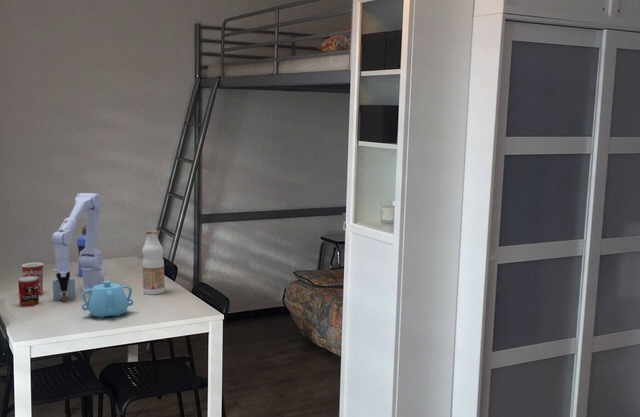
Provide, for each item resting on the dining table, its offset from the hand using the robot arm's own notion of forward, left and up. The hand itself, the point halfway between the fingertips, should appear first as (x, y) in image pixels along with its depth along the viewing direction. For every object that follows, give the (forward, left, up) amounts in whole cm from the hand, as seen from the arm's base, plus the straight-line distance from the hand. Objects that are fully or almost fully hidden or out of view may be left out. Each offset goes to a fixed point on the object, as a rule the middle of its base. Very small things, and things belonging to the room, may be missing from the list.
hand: (64, 290), depth 313 cm
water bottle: (-12, -45, -4) cm, 47 cm away
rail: (0, 0, -4) cm, 4 cm away
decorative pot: (-16, +32, -4) cm, 36 cm away
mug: (+12, -16, -4) cm, 21 cm away
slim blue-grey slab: (0, 0, -4) cm, 4 cm away
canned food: (+14, +3, -4) cm, 15 cm away
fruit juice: (-38, +2, -4) cm, 38 cm away
